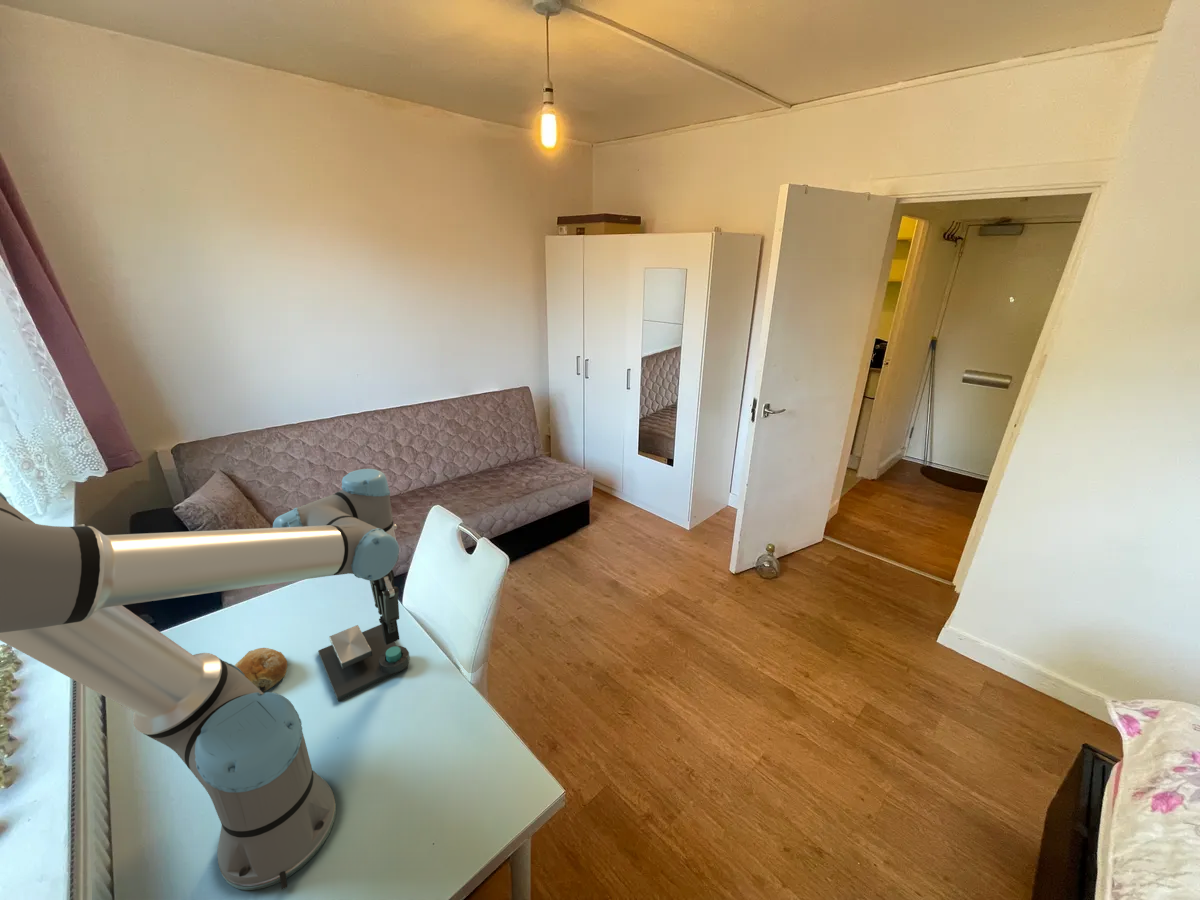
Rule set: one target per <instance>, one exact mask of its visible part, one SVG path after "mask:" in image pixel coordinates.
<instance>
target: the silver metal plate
mask: <svg viewBox="0 0 1200 900" xmlns="http://www.w3.org/2000/svg"><path fill="white" fill-rule="evenodd" d="M362 632H363V631H362V630H361V628H360V626H359V625H358V624H357V625H354V626H351V627H349V628H347V629H344V630H342V631H339V632H336V633H334V634H332V635H330V636H329V637H328V638H329V642H330V644H331V645H332V647H333V649H334V651H335V653H336V656H337V658H338V660H339V662H340V665H341V667H342V669H344V668H346V667H348V666H350V665H353V664H355V663H357V662H359V661H361V660H364V659H366V658H368V657H370V656H372V650H371V649H370V647H369V645H368V643H367V641H366V639H365V637H364V635H363V634H362Z"/></svg>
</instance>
